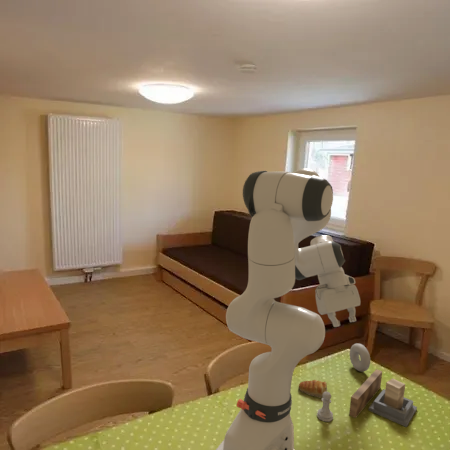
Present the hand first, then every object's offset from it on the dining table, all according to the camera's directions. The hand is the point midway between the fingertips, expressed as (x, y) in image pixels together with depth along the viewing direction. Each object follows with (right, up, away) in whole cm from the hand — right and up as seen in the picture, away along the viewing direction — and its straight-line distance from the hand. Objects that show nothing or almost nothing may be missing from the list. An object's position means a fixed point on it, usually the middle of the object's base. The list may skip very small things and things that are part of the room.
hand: (345, 324), depth 124 cm
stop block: (+13, -24, -7) cm, 28 cm away
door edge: (+6, -24, -3) cm, 25 cm away
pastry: (-10, -23, +1) cm, 25 cm away
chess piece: (-10, -25, -11) cm, 29 cm away
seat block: (+13, -25, -7) cm, 29 cm away
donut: (+10, -21, +16) cm, 29 cm away
